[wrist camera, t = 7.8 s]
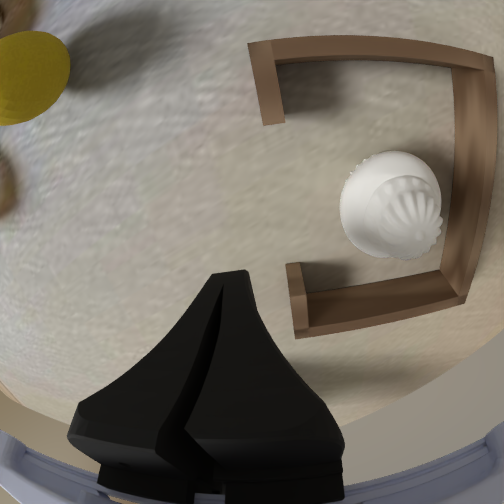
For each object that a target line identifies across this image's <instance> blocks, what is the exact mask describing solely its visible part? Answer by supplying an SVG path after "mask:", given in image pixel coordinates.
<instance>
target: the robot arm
mask: <svg viewBox="0 0 504 504" xmlns="http://www.w3.org/2000/svg"><path fill="white" fill-rule="evenodd" d="M67 438H68V440H69V442H70V443H71V444H72V445H73V446H74V447H76V448H77V449H78V450H80V451H81V452H83V453H84V454H86V455H87V456H89V457H90V458H92V459H94V460H95V461H97V462H98V463H100V464H101V467H100V471H99V474H96V473H93V472H90V471H86V470H83V469H80V468H77V467H74V466H72V465H68V464H66V463H64V462H61V461H58V460H56V459H53V458H51V457H49V456H46V455H44V454H42V453H39V452H37V451H35V450H33V449H30V448H28V447H26V445H25V444H23V443H22V442H21V441H19V440H17V439H16V438H15V437H13V436H11V435H10V434H8V433H6V432H4V431H2V430H0V486H1V487H2V488H3V489H5V490H6V491H7V492H8V493H9V494H10V495H12V496H13V497H14V498H15V499H16V500H17V501H18V502H19V503H21V504H121V503H118V502H115V501H112V500H110V498H109V497H108V495H109V496H112V497H116V498H120V499H123V500H127V501H131V502H135V503H140V504H502V503H503V502H504V421H503V422H501V423H500V424H498V425H497V426H496V427H494V428H493V429H492V430H491V431H490V432H488V433H487V435H486V436H485V437H484V438H482V439H480V440H478V441H476V442H474V443H472V444H470V445H468V446H466V447H464V448H462V449H459V450H457V451H455V452H453V453H450V454H448V455H446V456H443V457H441V458H438V459H436V460H433V461H431V462H428V463H425V464H423V465H420V466H417V467H414V468H412V469H408V470H405V471H402V472H399V473H395V474H392V475H389V476H385V477H382V478H378V479H374V480H370V481H365V482H361V483H357V484H352V485H347V486H344V485H343V478H342V473H343V468H342V460H341V458H342V454H343V451H344V448H345V442H344V439H343V436H342V433H341V431H340V429H339V427H338V425H337V423H336V421H335V419H334V418H333V416H332V414H331V413H330V411H329V409H328V408H327V406H326V404H325V402H324V401H323V400H322V399H321V398H320V397H319V396H318V395H317V394H316V393H315V392H314V391H313V390H312V389H311V388H310V387H309V386H308V385H307V384H306V383H305V382H304V381H303V379H302V378H301V377H300V376H299V375H298V374H297V373H296V371H295V370H294V369H293V367H292V366H291V365H290V363H289V362H288V361H287V360H286V358H285V357H284V356H283V354H282V353H281V351H280V350H279V348H278V347H277V345H276V344H275V342H274V341H273V339H272V337H271V336H270V334H269V332H268V331H267V329H266V327H265V325H264V323H263V321H262V319H261V317H260V315H259V313H258V311H257V307H256V302H255V298H254V294H253V289H252V285H251V281H250V276H249V272H248V271H246V270H237V271H230V272H223V273H215V274H212V275H211V276H210V278H209V279H208V280H207V282H206V283H205V285H204V286H203V288H202V289H201V291H200V292H199V293H198V295H197V296H196V298H195V299H194V301H193V302H192V303H191V305H190V306H189V307H188V309H187V310H186V312H185V313H184V314H183V316H182V317H181V318H180V319H179V320H178V322H177V323H176V324H175V325H174V327H173V328H172V329H171V330H170V331H169V333H168V334H167V335H166V336H165V337H164V338H163V339H162V340H161V341H160V342H159V343H158V344H157V345H156V346H155V347H154V348H153V349H152V350H151V351H150V352H149V353H148V354H147V355H146V356H145V357H143V358H142V359H141V360H140V361H139V362H138V363H137V364H135V365H134V366H133V367H132V368H131V369H129V370H128V371H127V372H126V373H124V374H123V375H122V376H120V377H119V378H118V379H116V380H115V381H113V382H112V383H110V384H109V385H108V386H106V387H104V388H103V389H101V390H100V391H98V392H96V393H95V394H93V395H91V396H89V397H88V398H86V399H84V400H83V401H81V402H79V404H78V406H77V409H76V411H75V414H74V417H73V420H72V423H71V425H70V428H69V431H68V434H67Z"/></svg>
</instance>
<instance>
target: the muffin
mask: <svg viewBox="0 0 504 504" xmlns="http://www.w3.org/2000/svg"><path fill="white" fill-rule="evenodd" d="M345 182H346V183H345V185H344V187H343V190H342V192H341V198H340V216H341V221H342V225H343V228H344V231H345V233H346V235H347V237H348V238H349V240H350V241H351V242H352V243H353V244H354V245H355V246H356V247H357V248H358V249H359V250H361V251H363V252H364V253H366V254H368V255H371V256H374V257H379V258H389V257H394V258H400V259H401V260H410V259H412V258H415V259H416V258H419V257H421V256H422V254H423V253H427V252H429V251H430V247H431V245H435V244H436V242H437V241H436V237H437V236H439V235H440V234H441V230H440V228H439V227H440V226H441V225H442V222H443V219H442V218H441V217H440V216H439V215H440V211H441V192H440V188H439V185H438V182H437V179H436V177H435V175H434V173H433V172H432V170H431V169H430V167H429V166H428V165H427V164H426V163H425V162H424V161H422V160H421V159H419V158H418V157H416V156H414V155H412V154H410V153H406V152H402V151H386V152H381V153H379V154H376V155H372V156H371V157H370V158H368V159H364V160H363V161H362V163H361V164H360V165H359V164H358V165H356V169H355V170H354V171H351V172H350V177H349V178H347V179H346V180H345Z"/></svg>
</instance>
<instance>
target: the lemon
mask: <svg viewBox="0 0 504 504" xmlns="http://www.w3.org/2000/svg"><path fill="white" fill-rule="evenodd" d="M70 66H71V64H70V56H69V53H68V51H67V48H66V47H65V45H64V44H63V43H62V41H61V40H60V39H58V38H56V37H55V36H53V35H51V34H49V33H46V32H41V31H23V32H19V33H16V34H12V35H9V36H6V37H4V38H2V39H0V126H6V125H14V124H18V123H22V122H26V121H29V120H31V119H33V118H35V117H37V116H38V115H40V114H42V113H43V112H45V111H46V110H47V109H49V108H50V107H51V106H52V105H53V104H54V103H55V102H56V101H57V99H58V98H59V96H60V95H61V94H62V92H63V91H64V89H65V86H66V84H67V82H68V78H69V75H70Z"/></svg>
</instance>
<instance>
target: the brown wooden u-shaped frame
mask: <svg viewBox="0 0 504 504" xmlns="http://www.w3.org/2000/svg"><path fill="white" fill-rule="evenodd" d="M247 44H248V49H249V54H250V59H251V64H252V69H253V74H254V79H255V84H256V89H257V95H258V100H259V105H260V111H261V116H262V121H263V126H265V125H272V124H279V123H285V117H284V111H283V105H282V100H281V94H280V88H279V83H278V77H277V72H276V67H275V65H283V64H292V63H303V62H317V61H338V60H375V61H396V62H409V63H419V64H428V65H436V66H443V67H449V68H451V71H452V80H453V92H454V110H455V155H454V174H453V187H452V197H451V206H450V214H449V221H448V227H447V234H446V239H445V245H444V250H443V255H442V260H441V265H440V270H437V271H432V272H427V273H422V274H417V275H412V276H407V277H402V278H397V279H392V280H386V281H381V282H375V283H370V284H364V285H358V286H353V287H347V288H340V289H334V290H328V291H322V292H315V293H308V294H306V291H305V286H304V281H303V276H302V271H301V267H300V262H297V263H290V264H285V265H286V272H287V279H288V287H289V294H290V302H291V310H292V318H293V326H294V334H295V339H301V338H308V337H315V336H321V335H327V334H333V333H339V332H345V331H350V330H356V329H361V328H366V327H371V326H376V325H381V324H386V323H390V322H395V321H399V320H404V319H408V318H412V317H416V316H420V315H424V314H428V313H432V312H436V311H440V310H443V309H447V308H451V307H454V306H458V305H461V304H464V303H465V301H466V298H467V295H468V292H469V289H470V286H471V283H472V280H473V277H474V273H475V270H476V266H477V263H478V259H479V255H480V252H481V248H482V243H483V239H484V235H485V230H486V225H487V220H488V215H489V209H490V204H491V197H492V190H493V182H494V174H495V163H496V149H497V93H496V79H495V69H494V61H493V57H491V56H487V55H484V54H480V53H477V52H473V51H469V50H465V49H461V48H456V47H452V46H447V45H442V44H436V43H431V42H424V41H418V40H410V39H401V38H391V37H378V36H355V35H330V36H307V37H293V38H283V39H274V40H266V41H259V42H252V43H247Z"/></svg>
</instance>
